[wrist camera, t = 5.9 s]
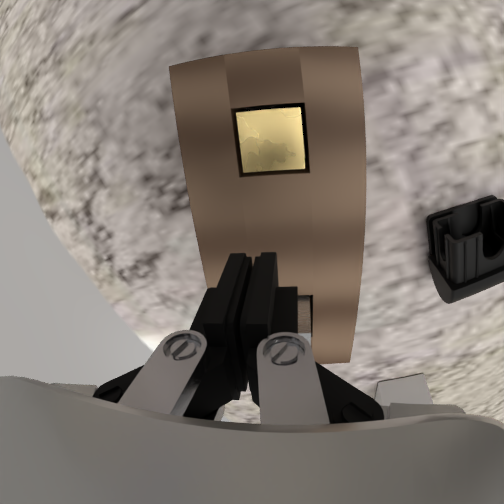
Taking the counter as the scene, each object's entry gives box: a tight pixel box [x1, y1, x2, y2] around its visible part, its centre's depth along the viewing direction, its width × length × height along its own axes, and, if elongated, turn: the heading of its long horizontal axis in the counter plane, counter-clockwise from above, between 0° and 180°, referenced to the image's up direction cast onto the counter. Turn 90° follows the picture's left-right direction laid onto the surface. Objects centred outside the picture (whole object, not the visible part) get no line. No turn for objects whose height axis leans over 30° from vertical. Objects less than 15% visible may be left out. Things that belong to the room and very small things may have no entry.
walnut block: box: [169, 46, 366, 364], centre depth 23 cm, size 26×12×6 cm, turn 6°
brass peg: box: [236, 107, 305, 173], centre depth 20 cm, size 4×4×6 cm
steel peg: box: [298, 295, 311, 346], centre depth 23 cm, size 4×4×6 cm
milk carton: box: [375, 374, 433, 406], centre depth 28 cm, size 7×7×19 cm
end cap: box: [426, 195, 504, 304], centre depth 21 cm, size 10×7×7 cm
